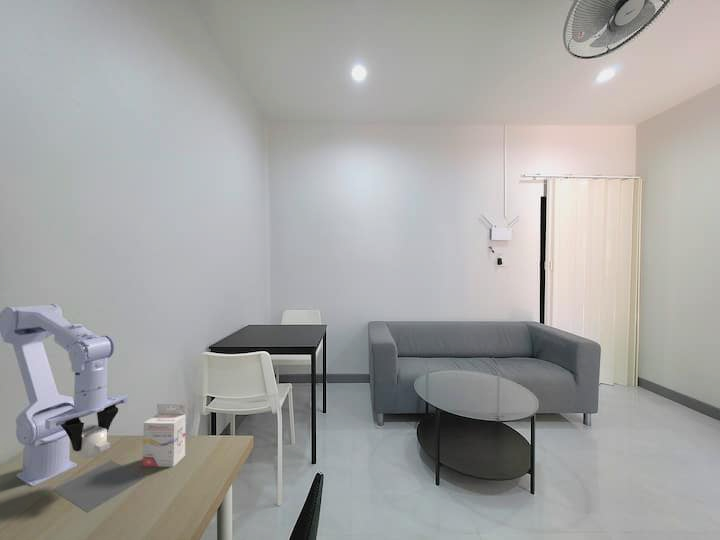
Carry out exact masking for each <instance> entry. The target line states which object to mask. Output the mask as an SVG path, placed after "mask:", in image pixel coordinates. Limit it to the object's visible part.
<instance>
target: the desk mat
mask: <svg viewBox="0 0 720 540" xmlns="http://www.w3.org/2000/svg"><path fill="white" fill-rule="evenodd" d="M146 478H147V476H145V475H143V474H141V473H138V472H137V471H134V470H132V469H131V468H129V467H126V466H123V465H122V464H119V463H117V462H115V461H113V460H109V461H107V462H105V463H103V464H101V465H99V466H96V467H95V468H93V469H91V470H89V471H87V472H85V473H83V474H81V475H79V476H76V477H75V478H73V479H71V480H69V481H67V482H64V483H62V484H61V485H59V486H56V487H55V488H52V491H54V492H55V493H57V494H58V495H59V496H62V497H63V498H65V499H66V500H67V501H69V502H71V503H73V505H75V506H77V507H78V508H80V509H81V510H82V511H85V512H86V513H89V512H90V511H92V510H94V509H96V508H97V507H99V506H101V505H103V504H104V503H106V502H107V501H108V502H109V500H111V499H113V498H114V497H116V496H118V495H119V494H121V493H123V492H124V491H126V490H128V489H129V488H131V487H133V486H134V485H136V484H137V483H138V484H139V482H141V481H142V480H144V479H146Z"/></svg>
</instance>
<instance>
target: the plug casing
mask: <svg viewBox="0 0 720 540" xmlns="http://www.w3.org/2000/svg"><path fill="white" fill-rule="evenodd" d="M109 448H111V442H109V441H108V433H107V429H105V428H102V427H100V426H98V424H88V425H84V426H83V430H82V446H81V450H80V451H74V450H73V449H72V453H74V454H76V455H78V456H80V457H82V458H85V459H90V458H95V457H98V456H99V455H101V454H104V453H105V452H106V451H107V449H109Z"/></svg>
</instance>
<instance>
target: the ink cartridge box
mask: <svg viewBox="0 0 720 540" xmlns="http://www.w3.org/2000/svg"><path fill="white" fill-rule="evenodd" d="M156 405H157V406H156V410H157V414H155V415H154V416H152V417H150V418H149V419H147V420H146V421H144V422H143V439H142V440H143V442H142V467H169V468H170V467H171V468H173V467H175V466H176V465H177V464H178V463H179V462H180V461H181V460H182V459H183V458H184V457H186V419H187V417H186V405H185V404H184V403H159V402H158V403H157V404H156ZM167 408H168V409H167ZM169 408H172V409H169ZM174 408H175V409H174Z"/></svg>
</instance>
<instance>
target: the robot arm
mask: <svg viewBox="0 0 720 540" xmlns="http://www.w3.org/2000/svg"><path fill="white" fill-rule="evenodd" d="M0 335H1V338H2V341H3V342H4V343H7V344H10V345H12V346H13V351H14V354H15V357H16V361H17V364H18V367H19V370H20V374H21V377H22V381H23V386H24V388H25V391H26V395H27V398H28V402H29V404H28V406H27V407H25V408H24V410H23V411H21V412H20V413H19V414H18V416H17V417H16V419H15V424H16V429H15V430H16V431H15V435H16V439H17V441H18V443H20V444H21V445H24V446H23V450H22V471H21V472H18V473H17V474H16V477H17V478H18V479H20V480H21V481H23V482H24V483H26V484H27V485H28V486H30V487H34V486H37V485H38V484H41V483H43V482H45V481H47V480H49V479H52V478H54V477H55V476H57V475H61V474H63V473H64V472H66V471H68V470H70V469H72V468H75V467H77V463H76V462H74V461H72V460H70V450H71V449H70V447H71V446H72V451H73V450H74V451H80V450H81V446H82V430H83V426H85V422H82V419H81V418H84V417H86V416H90V415H92V414H93V415H94V414H96V417H97V426H100V427H102V428H105V429H107V434H108V432H109V429H110V427H111V425H112V422H113V421H114V419H115V417H116V416H117V414H118V413H119V407H117V406H118V405H120V404H126V403H129V395H128V394H126V393H123V394H118V395H115V396H110V397H108V365H109V364H108V363H109V362H108V360H109V358H111V357H112V356H113V354H114V352H115V344H114V343H115V342H114V341H113V339H112V338H111V337H110V336H109V335H105V334H104V335H96V334H95V333H93V332H92V331H90V330H89V329H87V328H86V327H84V326H83V325H82V324H81V323H70V322H69V321H68V319H66V318H64V317H63V310H62V308H61V307H60V306H59V305H58V304H56V303H52V304H41V305H30V306H29V305H28V306H27V305H26V306H15V307H13V306H6V307H5V308H4V309H2V310H1V312H0ZM52 335H54V336H53V341H54V343H56V344H57V345H59V347H61V348H62V349H63V350H65V351H66V352H68V354H67V355H68V359H69V361H70V364H71V372H73V373H74V390H73V391H74V392H73V393H74V394H73V397H72V396H67V395H63V394H59V392H58V387H57V385H56V382H55V379H54V375H53V372H52V369H51V365H50V362H49V359H48V356H47V352H46V349H45V346H44V343H43V341H44V340H45V339H48V338H49V337H50V336H52ZM70 443H71V444H70ZM70 445H71V446H70Z"/></svg>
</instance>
